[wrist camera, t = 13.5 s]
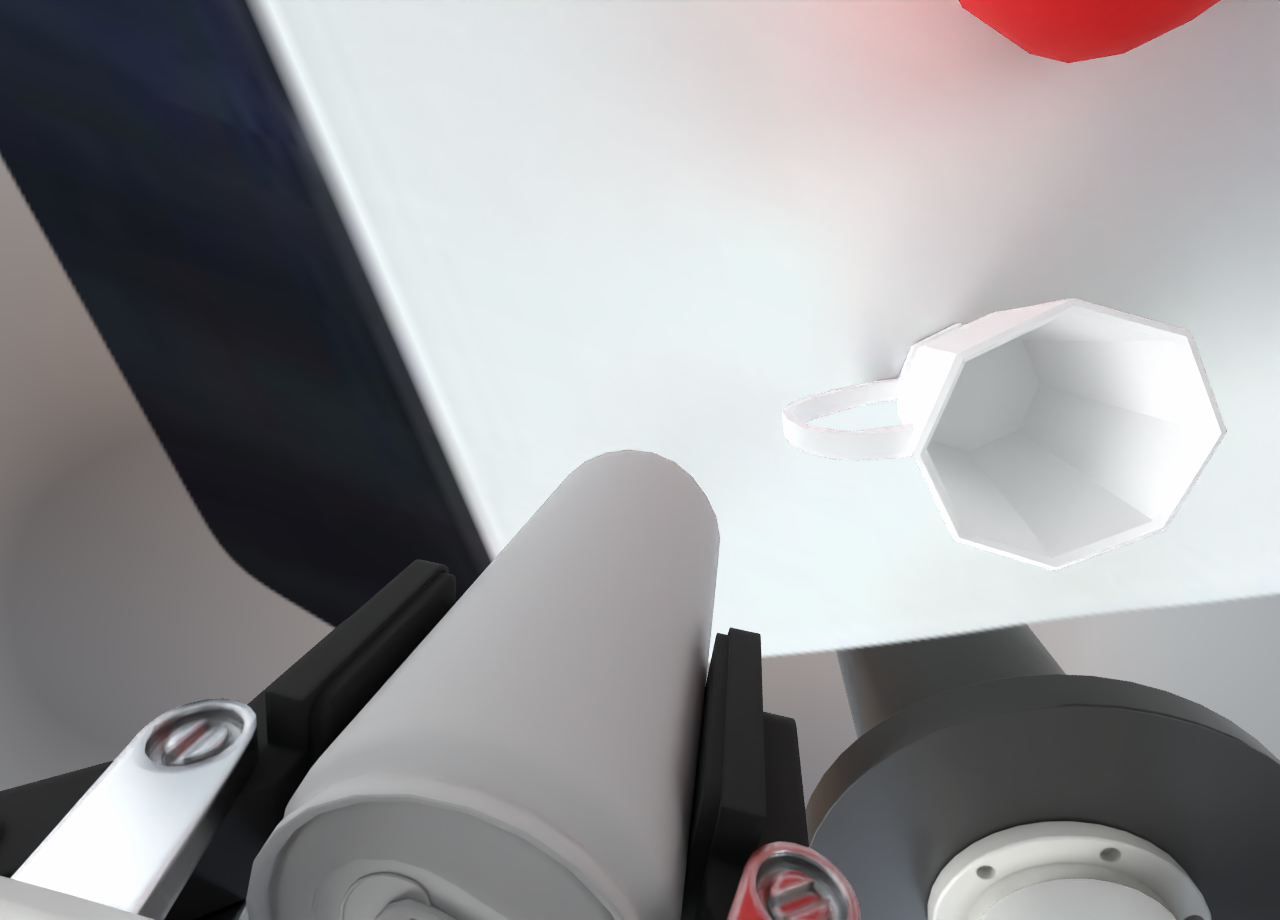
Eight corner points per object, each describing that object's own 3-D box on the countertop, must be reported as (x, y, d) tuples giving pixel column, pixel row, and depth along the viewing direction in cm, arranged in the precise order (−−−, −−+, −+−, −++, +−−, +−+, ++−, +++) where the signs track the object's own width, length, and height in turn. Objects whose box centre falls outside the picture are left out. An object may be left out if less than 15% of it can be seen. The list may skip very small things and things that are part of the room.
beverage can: (599, 412, 17) (303, 694, 6) (754, 497, 17) (765, 951, 6) (530, 549, 19) (190, 983, 7) (671, 628, 19) (550, 1184, 7)
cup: (1055, 466, 23) (1209, 566, 16) (782, 484, 25) (800, 582, 17) (1069, 271, 21) (1252, 278, 14) (770, 306, 23) (786, 330, 15)
